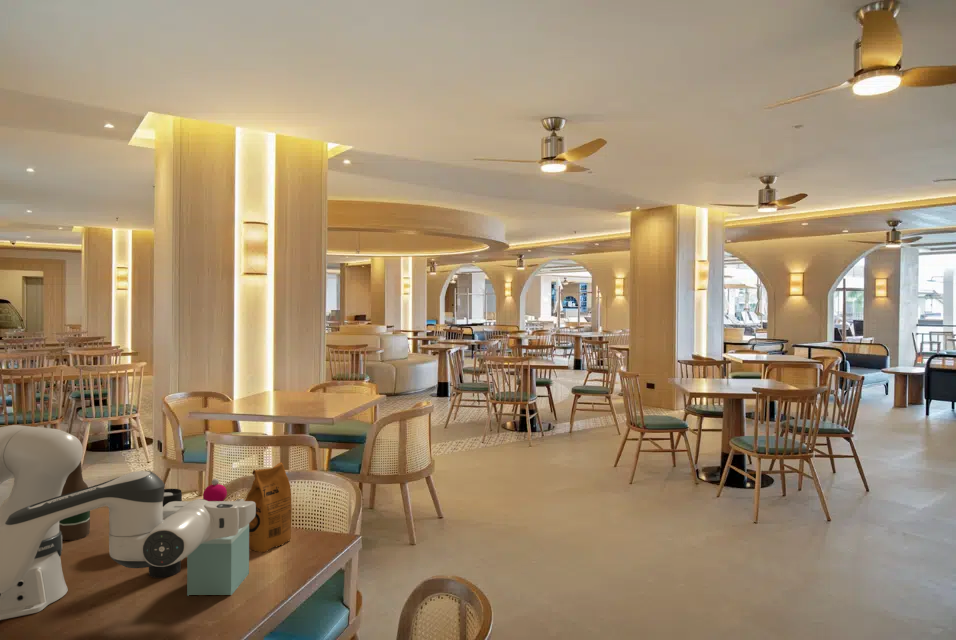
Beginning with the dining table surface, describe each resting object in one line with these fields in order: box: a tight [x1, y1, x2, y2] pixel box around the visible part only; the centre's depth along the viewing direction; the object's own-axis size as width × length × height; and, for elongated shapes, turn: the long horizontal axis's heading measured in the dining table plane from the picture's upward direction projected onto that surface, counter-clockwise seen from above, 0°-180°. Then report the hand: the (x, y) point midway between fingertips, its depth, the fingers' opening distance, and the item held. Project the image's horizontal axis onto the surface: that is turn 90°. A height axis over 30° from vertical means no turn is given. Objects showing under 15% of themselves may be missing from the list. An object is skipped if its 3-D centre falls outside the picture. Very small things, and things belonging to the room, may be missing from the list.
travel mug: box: [148, 488, 183, 579], centre depth 153 cm, size 8×8×20 cm
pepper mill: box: [202, 478, 228, 501], centre depth 166 cm, size 7×7×20 cm
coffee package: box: [244, 462, 293, 553], centre depth 172 cm, size 10×12×22 cm
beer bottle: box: [59, 460, 91, 541], centre depth 177 cm, size 8×8×24 cm
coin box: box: [186, 524, 250, 597], centre depth 146 cm, size 12×10×13 cm
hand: (221, 502), depth 147 cm, fingers open, 8 cm apart
